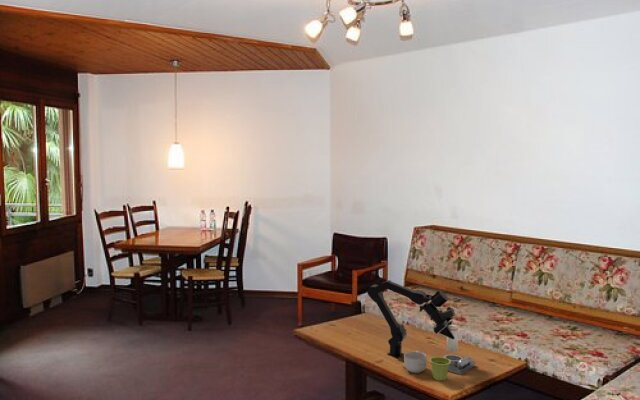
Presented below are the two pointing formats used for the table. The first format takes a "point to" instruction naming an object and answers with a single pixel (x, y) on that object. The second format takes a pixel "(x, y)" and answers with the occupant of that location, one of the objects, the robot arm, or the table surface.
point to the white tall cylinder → (453, 343)
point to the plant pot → (440, 368)
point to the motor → (459, 364)
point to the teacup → (415, 361)
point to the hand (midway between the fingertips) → (455, 337)
